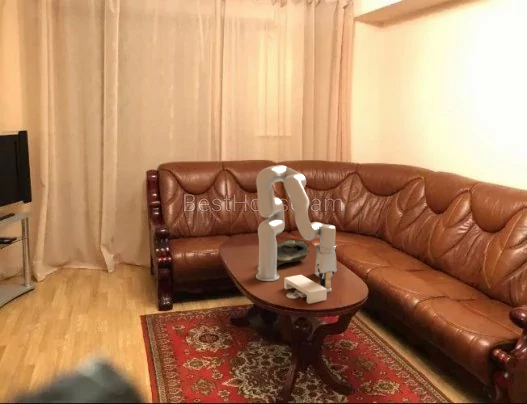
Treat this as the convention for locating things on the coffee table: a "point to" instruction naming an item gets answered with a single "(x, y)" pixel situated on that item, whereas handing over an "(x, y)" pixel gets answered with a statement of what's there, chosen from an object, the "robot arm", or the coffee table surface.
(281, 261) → the hollow geode rock
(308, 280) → the cream flanged plate
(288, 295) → the token
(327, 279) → the white-handled mallet
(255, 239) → the coffee table surface
